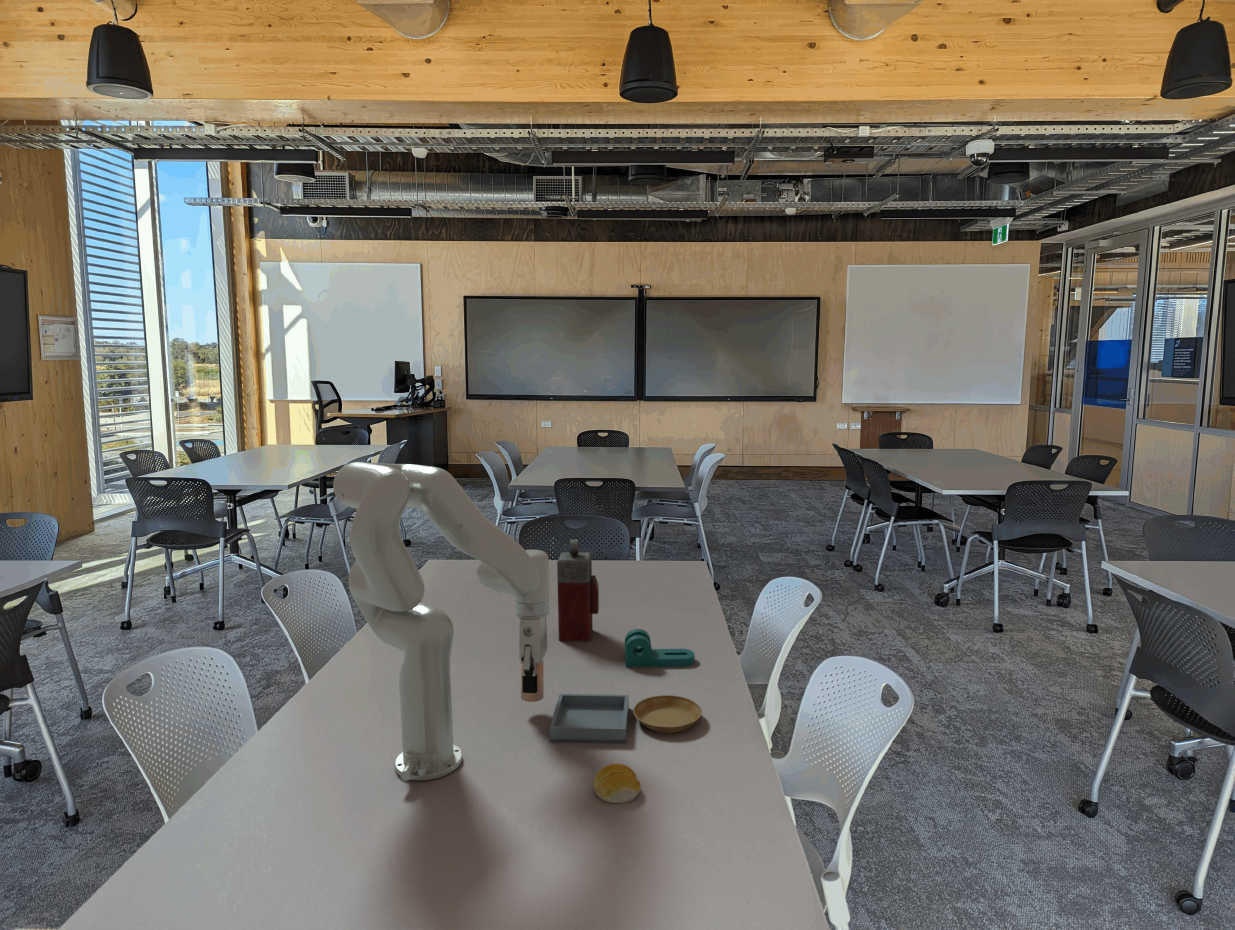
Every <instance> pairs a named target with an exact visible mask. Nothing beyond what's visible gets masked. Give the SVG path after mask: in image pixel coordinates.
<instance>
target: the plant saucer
mask: <svg viewBox="0 0 1235 930" xmlns="http://www.w3.org/2000/svg"><path fill="white" fill-rule="evenodd" d="M632 712H633V715H634V717H635V718H636V719H637V721H638V722H640V724H641V725H643V726H644V727H645V728H647V729H649V730H651V731H654V732H657V733H664V734H675V733H679V732H684V731H685V730H688V729H690V727H692V726H693V725H694V724H695V723H696V722H697V721H698V720H699V719H700V718H701V716H702V708H701V707H700V705H699V704H698V703H697V702H695V701H694V700H692V699H689V698H686V697H684V696H679V695H671V694H668V695H667V694H663V695H655V696H650V697H647V698H644V699H642V700H640V701H638V702H637V703H636V704H635V705H634V707H633V711H632Z"/></svg>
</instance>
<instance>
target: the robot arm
mask: <svg viewBox="0 0 1235 930" xmlns="http://www.w3.org/2000/svg"><path fill="white" fill-rule="evenodd" d="M332 486H333V487H332V488H333V493H334V495H335V497H336V498H337V501H339V502H340V503H341V504H342V505H344V506H346V507H349V508H350V509H356V512H355V514H354V517H353V520H352V524H351V528H350V532H349V544H350V548H351V551H352V553H353V556H354V558H355V561H354V562H353V564H352V565H351V568H350V569H349V570H350V571H349V573H348V581H347V582H348V589H349V592H350V595H351V596H352V598H353V600H354V602H355V605H356V606H357V607H358V609H359V611H360V612H361V614H362V615H363V617H364V619H365V621H366V622H367V625H368V626H369V628H370V629H371V631H372V632H373V634H375V636H376V637H377V638H378V639H379V640H380V641H382V642H383V643H385V644H386V645H388V646H391V647H394V648H396V649H398V650H400V651H402V652H403V654H404V655H403V661H402V664H401V665H400V666H401V667H400V670H399V676H398V688H399V701H400V703H399V704H400V717H401V718H400V719H401V721H400V724H401V725H400V726H401V742H402V743H401V744H402V752H401V753H399V755H398V756H397V757H396V759H395V761H394V769H395V772H396V773H397V775H399V776H400V778H401V780H403V781H405V782H407V781H430V780H435V779H439V778H442V777H444V776H445V777H446V776H447V775H449V774H451V773H452V772H454V771H455V770H457V769H458V767H459V766H460V765H461V763H462V762H463V761H462V760H463V752H462V750H461V748H460V747H458V745H455V744H454V731H453V730H454V729H453V727H454V726H453V725H454V724H453V702H452V681H451V680H452V678H451V677H452V676H451V656H452V650H453V649H452V648H453V644H454V643H453V642H454V635H455V630H454V628H455V627H454V624H453V622H452V620H451V618H450V616H449V615H448V614H447V613H446V612H445V611H444V610H442V609H441V608H438V607H436V606H434V605H432V604H428V603H426V602H423V598H424V595H425V583H424V582H425V581H424V580H423V577H422V574H421V573H420V571H419V569H418V567H417V565H416V564H415V562H414V560H413V558H412V556H411V555H410V553H409V551H408V549H407V547H406V545H405V543H404V540H403V538H402V536H401V532H400V523H401V518H402V516H403V513H404V511H405V510H406V509H405V508H411V509H412V508H413V509H417V510H419V511H421V512H422V513H423V514H424V515H425V516H426V518H428V520H429V521H430V522H431V523H432V524H433V525H434V527H435V528H436V529H437V530H438V531H439V533H441V534H442V536H443V537H444V538H445V539H446V541H447V542H448V543H449V544H450V545H451V546H452V547H454V548H456V549H457V550H458V551H460V552H462V553H463V554H466V555H467V556H469V557H471V558H473V559H476V560H478V561H480V563H479V565H478V567H477V571H476V576H477V577H476V578H477V579H478V582H479V583H480V585H482V586H483V587H484V588H486V589H488V590H491V591H494V592H496V593H500V594H505V595H508V596H511V597H513V598H514V600H513V603H514V611H513V612H514V616H515V617H516V618H518V661H520V664H521V663H523V675H522V688H523V693H537V691H538V683H537V675H536V663H537V662H538V663H541V662H542V661H543V658H544V659H545V656H546V653H547V650H548V630H547V629H548V628H547V627H548V626H547V616H549V614H550V585H549V584H550V569H549V568H550V566H549V565H550V564H549V563H550V561H549V555H548V554H547V552H546V551H544V550H539V549H524V547H523V546H522V545H521V544H520V543H519V542H518V541H517V540H516V539H514V538H513V537H512V536H511V535H509V534H508V533H506V532H505V531H504V530H503V529H501V528H500V527H499V526H498V525H497V524H495V523H494V522H493V521H491V520H490V519H488V518H487V517H486V516H485V515H484V514H483V512H482V510H480V508H479V507H478V506H477V505H476V504H475V503H474V501H473V500H472V499H471V498H470V496H469V495H468V494H467V492H465V489H464V488H463V487H462V486H461V484H460V483H459V482H458V481H457V480H456V479H455V477H454V476H453V475H452V474H451V473H450V472H448V471H447V470H445V469H444V468H441V467H437V466H431V465H429V466H428V465H422V464H416V463H415V464H412V463H411V464H410V463H408V464H407V463H383V462H382V463H381V462H380V463H379V462H367V461H366V462H363V461H361V462H360V461H356V462H355V461H354V462H351V463H348V464H346V465H344V466H343V467H341V468H340V469H339V470H338V471H337V472H336V475H335V476H334V478H333V483H332ZM531 658H534V661H531ZM543 662H544V661H543ZM530 664H533V668H532V667H531V666H530Z"/></svg>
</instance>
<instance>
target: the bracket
mask: <svg viewBox="0 0 1235 930" xmlns="http://www.w3.org/2000/svg"><path fill="white" fill-rule="evenodd" d="M694 663H695V652H693V651H692V650H691V649H687V648H652V642H651V637H650V635H649V633H648V632H647V631H645V630H644V629H642V628H634V629H631V630H630V631H629V632H627V634H626V635H625V637H624V664H625V665H624V666H625V668H667V667H668V668H669V667H675V668H677V667H681V668H683V667H684V668H685V667H689V666H692V665H694Z"/></svg>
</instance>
